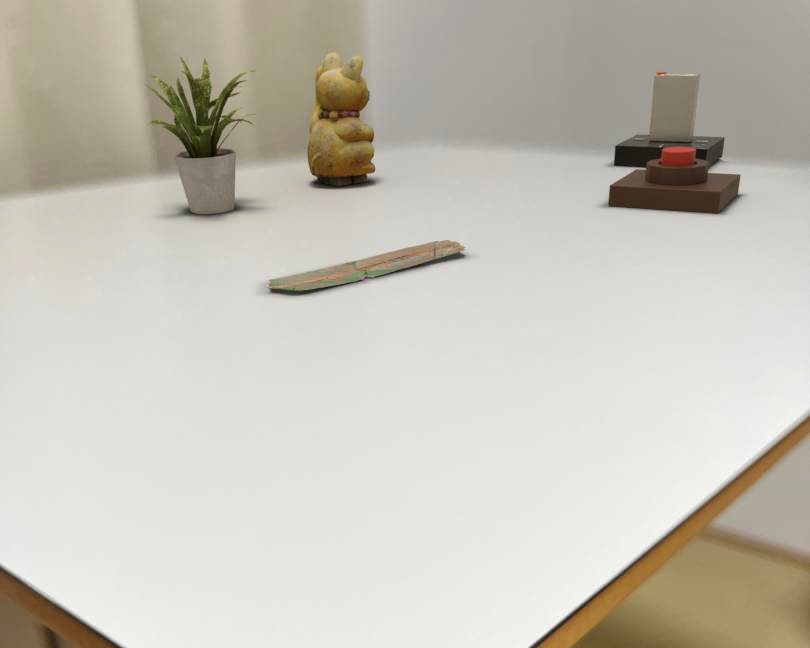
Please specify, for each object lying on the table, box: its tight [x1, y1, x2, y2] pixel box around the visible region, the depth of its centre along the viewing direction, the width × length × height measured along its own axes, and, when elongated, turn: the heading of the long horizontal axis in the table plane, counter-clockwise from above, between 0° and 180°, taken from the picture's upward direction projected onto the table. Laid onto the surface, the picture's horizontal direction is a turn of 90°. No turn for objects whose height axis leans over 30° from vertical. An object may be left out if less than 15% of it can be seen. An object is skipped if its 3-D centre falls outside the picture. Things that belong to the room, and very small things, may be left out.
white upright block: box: [648, 71, 701, 142], centre depth 123 cm, size 6×2×8 cm, turn 62°
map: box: [267, 239, 466, 292], centre depth 85 cm, size 5×20×1 cm, turn 126°
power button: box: [661, 147, 696, 166], centre depth 103 cm, size 4×4×2 cm
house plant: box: [144, 56, 256, 215], centre depth 106 cm, size 14×14×16 cm
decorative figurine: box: [306, 51, 376, 187], centre depth 118 cm, size 10×8×15 cm
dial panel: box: [613, 133, 726, 168], centre depth 126 cm, size 12×10×3 cm
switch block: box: [607, 159, 741, 214], centre depth 105 cm, size 12×10×4 cm
